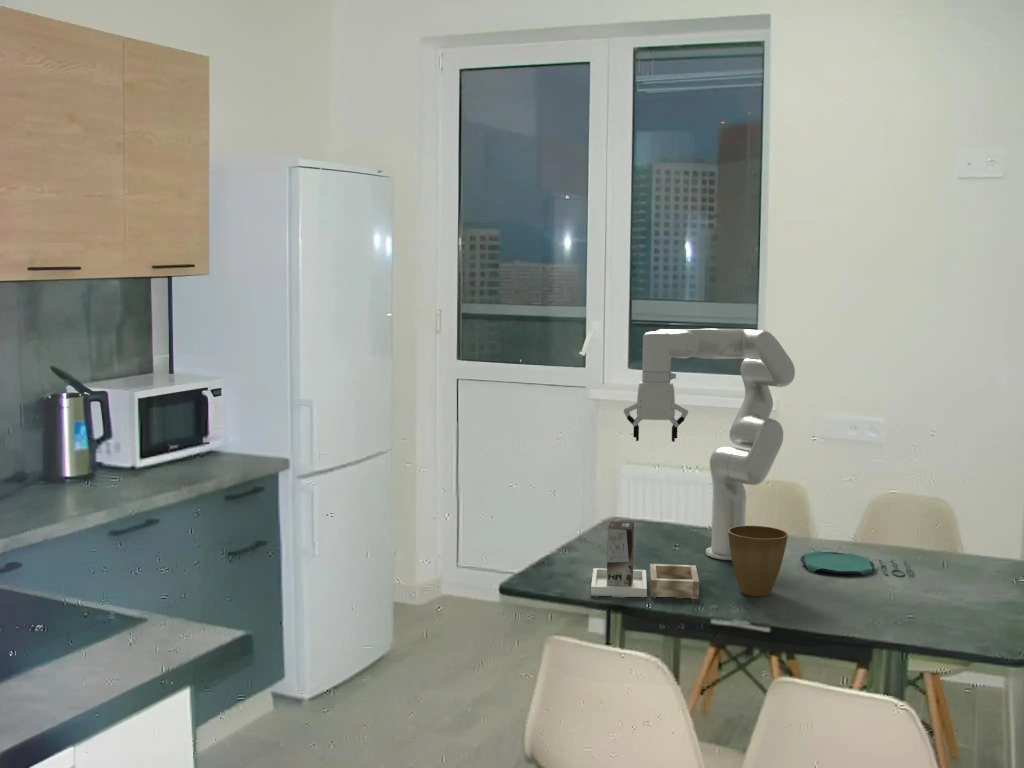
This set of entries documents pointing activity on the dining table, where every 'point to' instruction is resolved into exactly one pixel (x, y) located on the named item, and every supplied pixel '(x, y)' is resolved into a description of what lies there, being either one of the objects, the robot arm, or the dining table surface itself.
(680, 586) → the holder
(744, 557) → the plant pot
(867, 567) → the cutlery set
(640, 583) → the tray
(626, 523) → the coffee box
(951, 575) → the dining table surface
